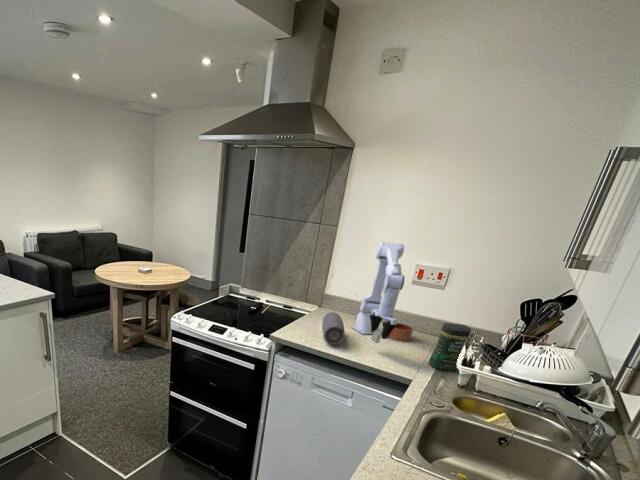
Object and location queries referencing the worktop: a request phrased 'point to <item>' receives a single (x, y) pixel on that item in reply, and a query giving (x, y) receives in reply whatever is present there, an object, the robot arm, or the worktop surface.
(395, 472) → the worktop surface
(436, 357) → the coffee jar
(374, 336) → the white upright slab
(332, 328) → the bluetooth speaker
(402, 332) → the reddish brown oval basket
